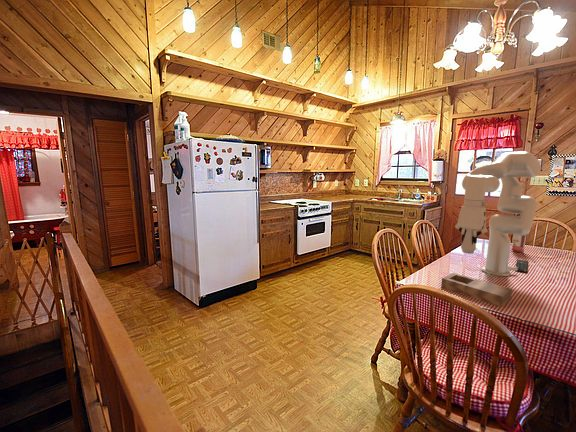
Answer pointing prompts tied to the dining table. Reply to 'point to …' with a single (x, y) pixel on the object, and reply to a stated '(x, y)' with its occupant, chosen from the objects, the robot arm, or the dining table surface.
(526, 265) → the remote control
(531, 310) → the dining table surface
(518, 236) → the liquor
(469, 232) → the salt shaker
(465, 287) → the caddy
